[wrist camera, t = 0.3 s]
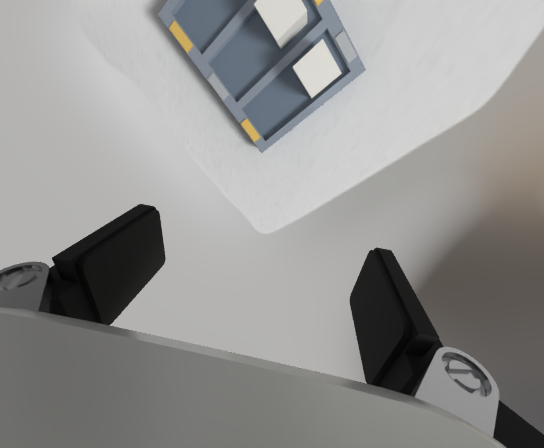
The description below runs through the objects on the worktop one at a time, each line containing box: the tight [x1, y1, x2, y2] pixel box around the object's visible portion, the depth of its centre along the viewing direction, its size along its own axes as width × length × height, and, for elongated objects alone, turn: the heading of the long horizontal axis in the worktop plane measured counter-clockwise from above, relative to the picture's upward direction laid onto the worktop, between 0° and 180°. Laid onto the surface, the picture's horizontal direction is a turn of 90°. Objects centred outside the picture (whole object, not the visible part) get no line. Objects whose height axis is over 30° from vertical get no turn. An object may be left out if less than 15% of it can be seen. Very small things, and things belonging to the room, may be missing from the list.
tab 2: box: [293, 39, 342, 99], centre depth 28 cm, size 4×4×4 cm
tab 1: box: [254, 0, 307, 49], centre depth 26 cm, size 4×4×4 cm
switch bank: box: [158, 0, 366, 153], centre depth 29 cm, size 17×21×3 cm
